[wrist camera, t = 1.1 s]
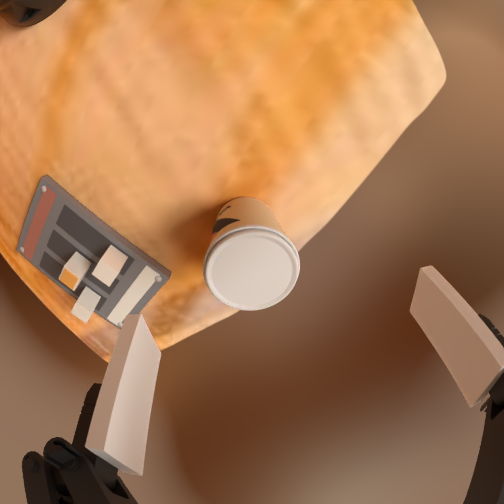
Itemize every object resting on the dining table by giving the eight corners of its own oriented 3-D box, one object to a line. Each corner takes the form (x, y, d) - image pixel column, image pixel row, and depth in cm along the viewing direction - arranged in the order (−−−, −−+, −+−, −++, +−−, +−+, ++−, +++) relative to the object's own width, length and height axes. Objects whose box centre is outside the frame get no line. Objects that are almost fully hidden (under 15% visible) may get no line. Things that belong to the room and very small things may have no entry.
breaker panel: (20, 245, 34) (3, 262, 30) (47, 174, 30) (25, 186, 25) (125, 325, 44) (117, 348, 39) (171, 272, 39) (164, 295, 34)
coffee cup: (218, 182, 33) (213, 218, 23) (290, 200, 35) (316, 242, 25) (203, 247, 38) (194, 304, 27) (268, 261, 39) (282, 318, 29)
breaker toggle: (69, 264, 35) (57, 280, 31) (76, 251, 34) (63, 266, 30) (84, 275, 36) (73, 292, 33) (91, 263, 35) (80, 279, 32)
